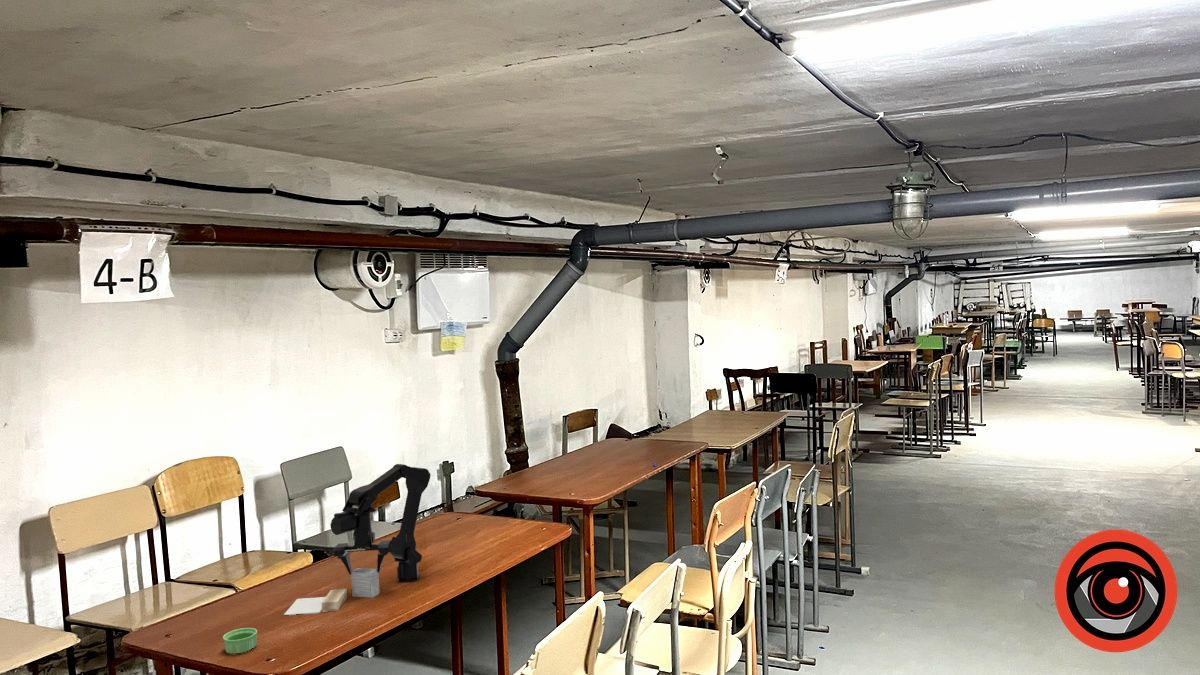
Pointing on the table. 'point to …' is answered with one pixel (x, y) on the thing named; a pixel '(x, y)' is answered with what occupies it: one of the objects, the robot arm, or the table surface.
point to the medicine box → (365, 582)
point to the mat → (306, 606)
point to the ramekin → (240, 640)
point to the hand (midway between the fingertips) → (364, 573)
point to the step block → (334, 600)
